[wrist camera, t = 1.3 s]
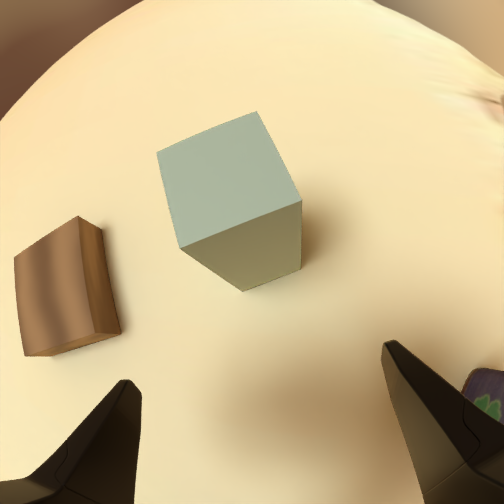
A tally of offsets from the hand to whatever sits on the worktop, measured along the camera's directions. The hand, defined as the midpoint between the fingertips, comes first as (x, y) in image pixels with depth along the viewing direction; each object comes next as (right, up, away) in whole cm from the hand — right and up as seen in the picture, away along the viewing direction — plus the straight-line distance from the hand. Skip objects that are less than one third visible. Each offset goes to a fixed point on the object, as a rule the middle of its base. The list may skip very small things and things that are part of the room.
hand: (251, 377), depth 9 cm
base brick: (-19, 0, +17) cm, 25 cm away
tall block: (+1, +4, +15) cm, 16 cm away
